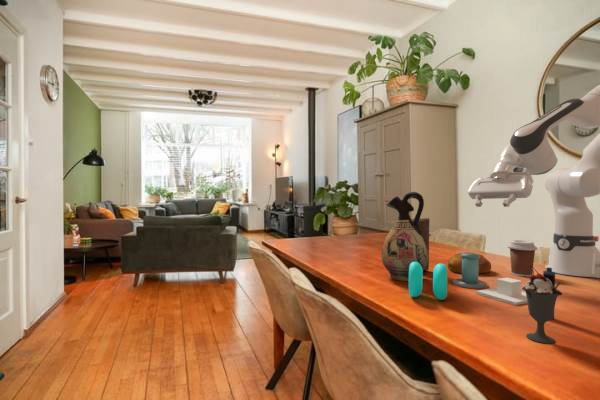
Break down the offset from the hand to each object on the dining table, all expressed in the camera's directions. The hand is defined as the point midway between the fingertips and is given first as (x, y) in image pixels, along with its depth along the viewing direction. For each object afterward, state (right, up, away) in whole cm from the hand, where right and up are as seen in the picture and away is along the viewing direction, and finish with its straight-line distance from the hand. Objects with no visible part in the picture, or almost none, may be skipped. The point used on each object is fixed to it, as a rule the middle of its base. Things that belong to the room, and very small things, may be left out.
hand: (491, 205), depth 122 cm
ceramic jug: (-29, -25, +1) cm, 38 cm away
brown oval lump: (-1, -25, +14) cm, 29 cm away
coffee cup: (+15, -25, +7) cm, 30 cm away
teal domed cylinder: (-11, -25, -7) cm, 28 cm away
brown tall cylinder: (-21, -25, +13) cm, 35 cm away
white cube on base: (-6, -26, -20) cm, 33 cm away
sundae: (-16, -27, -49) cm, 58 cm away
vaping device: (-7, -26, -36) cm, 45 cm away
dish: (-11, -25, -7) cm, 28 cm away
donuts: (-29, -26, -21) cm, 44 cm away
